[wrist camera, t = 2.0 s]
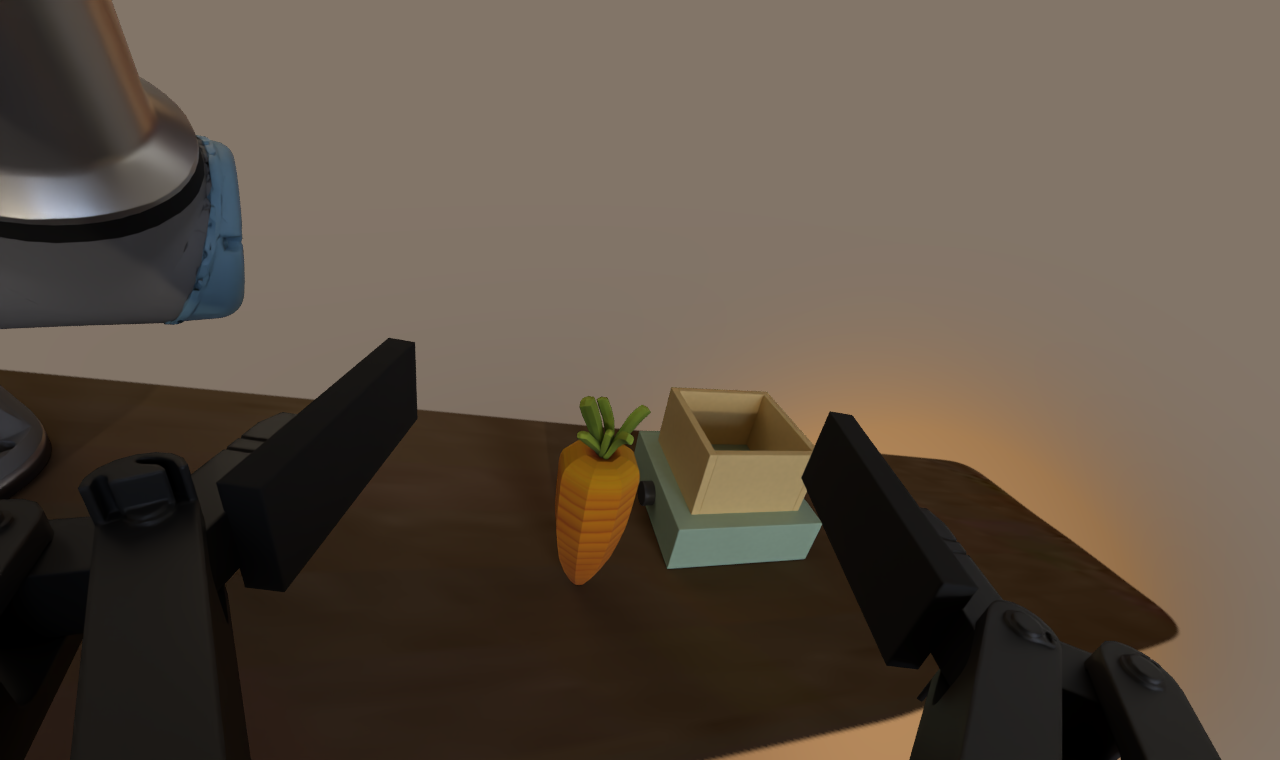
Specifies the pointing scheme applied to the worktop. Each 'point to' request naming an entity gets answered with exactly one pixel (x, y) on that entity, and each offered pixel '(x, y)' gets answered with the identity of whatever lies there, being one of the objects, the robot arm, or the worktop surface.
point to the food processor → (726, 480)
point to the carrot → (595, 490)
